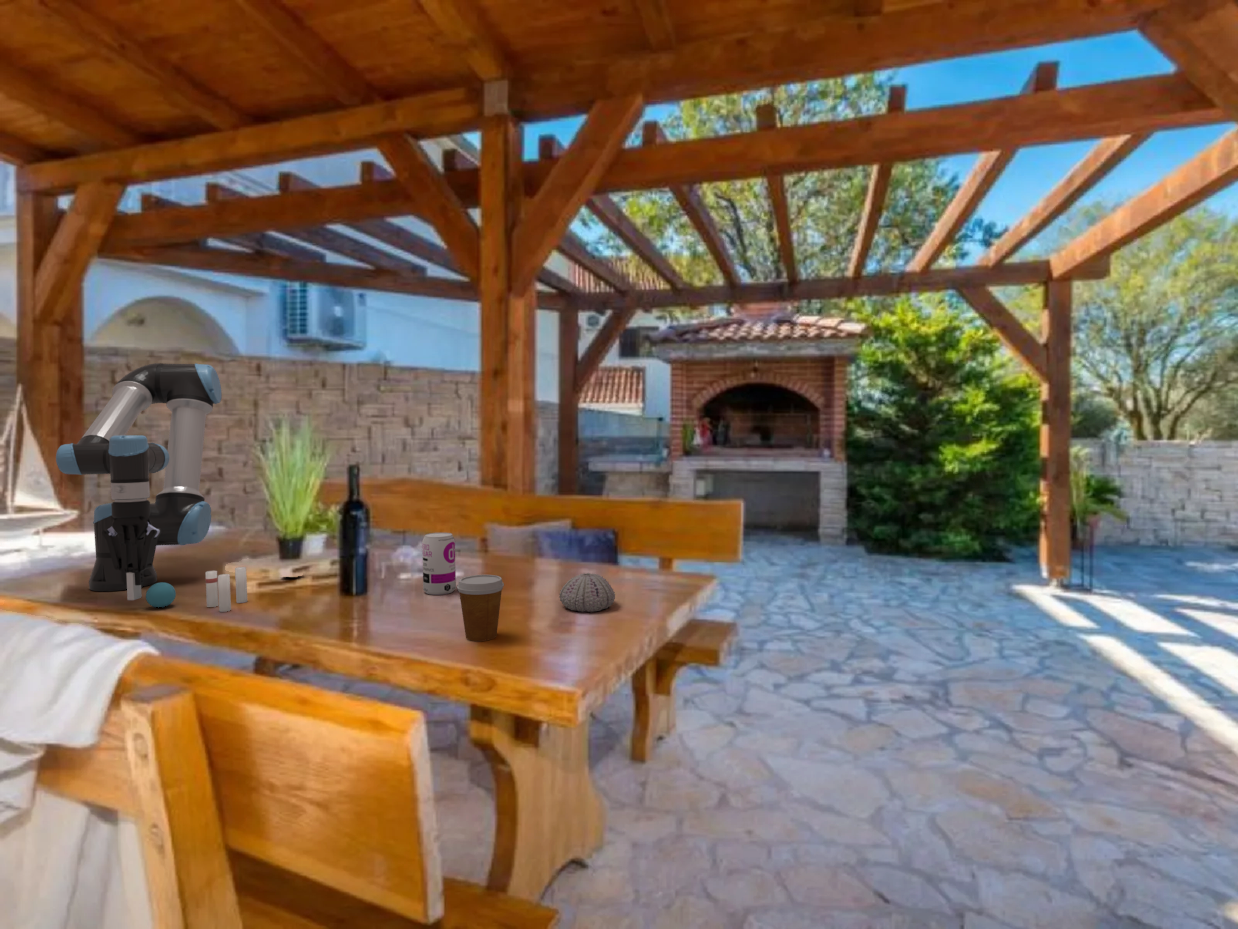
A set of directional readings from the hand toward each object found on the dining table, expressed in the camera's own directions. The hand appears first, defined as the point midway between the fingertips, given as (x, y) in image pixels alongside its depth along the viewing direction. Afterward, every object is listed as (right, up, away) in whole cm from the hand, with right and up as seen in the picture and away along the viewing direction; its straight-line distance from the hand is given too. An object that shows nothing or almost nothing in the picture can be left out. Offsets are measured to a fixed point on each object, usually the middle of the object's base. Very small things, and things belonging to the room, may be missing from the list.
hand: (134, 598), depth 165 cm
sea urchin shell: (+108, -2, +1) cm, 108 cm away
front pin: (+18, -2, +2) cm, 18 cm away
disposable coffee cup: (+87, -4, -22) cm, 90 cm away
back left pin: (+22, -2, +6) cm, 23 cm away
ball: (+6, +1, +1) cm, 6 cm away
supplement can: (+69, -1, +16) cm, 71 cm away
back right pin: (+23, -3, -2) cm, 23 cm away
